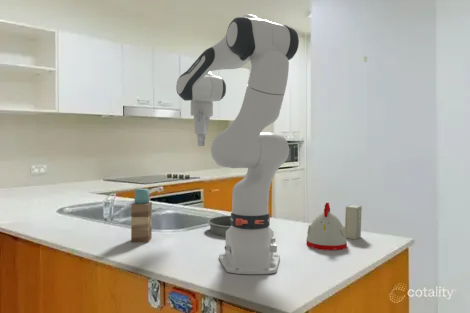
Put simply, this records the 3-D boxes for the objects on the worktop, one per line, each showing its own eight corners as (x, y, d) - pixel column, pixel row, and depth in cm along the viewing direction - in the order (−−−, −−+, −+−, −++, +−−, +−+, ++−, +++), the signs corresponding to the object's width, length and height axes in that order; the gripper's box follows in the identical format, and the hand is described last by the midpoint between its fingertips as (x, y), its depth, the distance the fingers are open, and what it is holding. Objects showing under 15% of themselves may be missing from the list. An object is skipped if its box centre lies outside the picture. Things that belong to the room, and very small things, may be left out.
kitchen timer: (302, 247, 140) (303, 204, 139) (310, 239, 152) (311, 199, 152) (344, 252, 134) (345, 207, 134) (348, 242, 147) (349, 201, 147)
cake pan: (268, 226, 175) (268, 215, 175) (267, 239, 151) (267, 227, 151) (212, 224, 178) (212, 214, 178) (202, 237, 153) (202, 225, 153)
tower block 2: (148, 229, 144) (148, 217, 143) (131, 229, 144) (131, 217, 143) (151, 226, 150) (151, 214, 149) (135, 226, 150) (135, 214, 149)
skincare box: (350, 235, 159) (350, 204, 159) (361, 236, 157) (362, 205, 156) (344, 238, 154) (345, 206, 154) (355, 239, 152) (356, 207, 151)
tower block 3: (148, 242, 144) (148, 229, 144) (131, 242, 144) (131, 229, 144) (151, 238, 150) (151, 226, 150) (135, 238, 150) (135, 226, 150)
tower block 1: (148, 217, 144) (148, 204, 143) (131, 217, 143) (131, 204, 143) (151, 214, 149) (151, 202, 149) (135, 214, 149) (135, 201, 149)
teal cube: (147, 204, 144) (147, 190, 144) (133, 204, 144) (133, 190, 144) (150, 202, 149) (150, 188, 149) (136, 202, 149) (136, 188, 149)
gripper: (208, 109, 151) (207, 146, 151) (210, 113, 171) (210, 145, 172) (191, 109, 151) (190, 146, 151) (196, 112, 171) (195, 145, 172)
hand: (201, 146), depth 162 cm, fingers open, 8 cm apart
